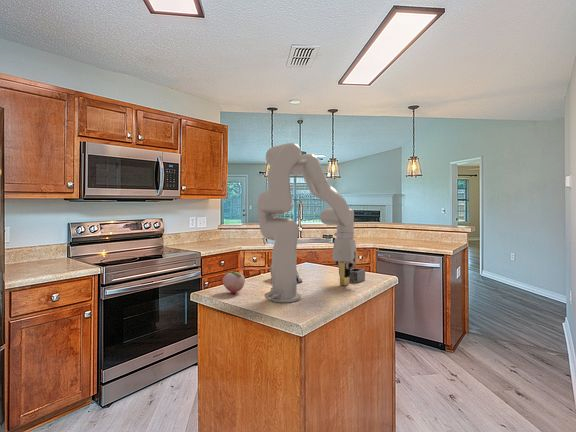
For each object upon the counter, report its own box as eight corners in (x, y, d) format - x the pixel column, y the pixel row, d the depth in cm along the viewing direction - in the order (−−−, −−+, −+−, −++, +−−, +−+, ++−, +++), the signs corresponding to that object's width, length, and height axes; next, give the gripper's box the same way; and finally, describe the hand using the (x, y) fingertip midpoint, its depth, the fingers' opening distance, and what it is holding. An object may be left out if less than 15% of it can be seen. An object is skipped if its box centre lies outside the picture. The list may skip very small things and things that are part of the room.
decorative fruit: (249, 292, 141) (249, 268, 141) (237, 297, 134) (236, 272, 134) (232, 289, 146) (231, 266, 145) (219, 293, 139) (218, 269, 138)
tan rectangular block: (344, 285, 150) (344, 263, 150) (339, 284, 152) (339, 262, 151) (349, 283, 153) (349, 261, 153) (344, 282, 155) (344, 261, 154)
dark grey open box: (357, 283, 156) (357, 272, 155) (345, 281, 159) (345, 270, 159) (365, 279, 162) (365, 269, 162) (353, 278, 166) (353, 267, 165)
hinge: (303, 282, 158) (298, 263, 155) (296, 287, 154) (291, 268, 152) (278, 276, 169) (273, 258, 167) (272, 281, 166) (266, 263, 163)
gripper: (325, 235, 154) (325, 275, 154) (357, 238, 144) (356, 280, 144) (334, 234, 159) (333, 273, 160) (365, 236, 150) (364, 277, 150)
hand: (344, 276), depth 152 cm, fingers closed on tan rectangular block, 2 cm apart
